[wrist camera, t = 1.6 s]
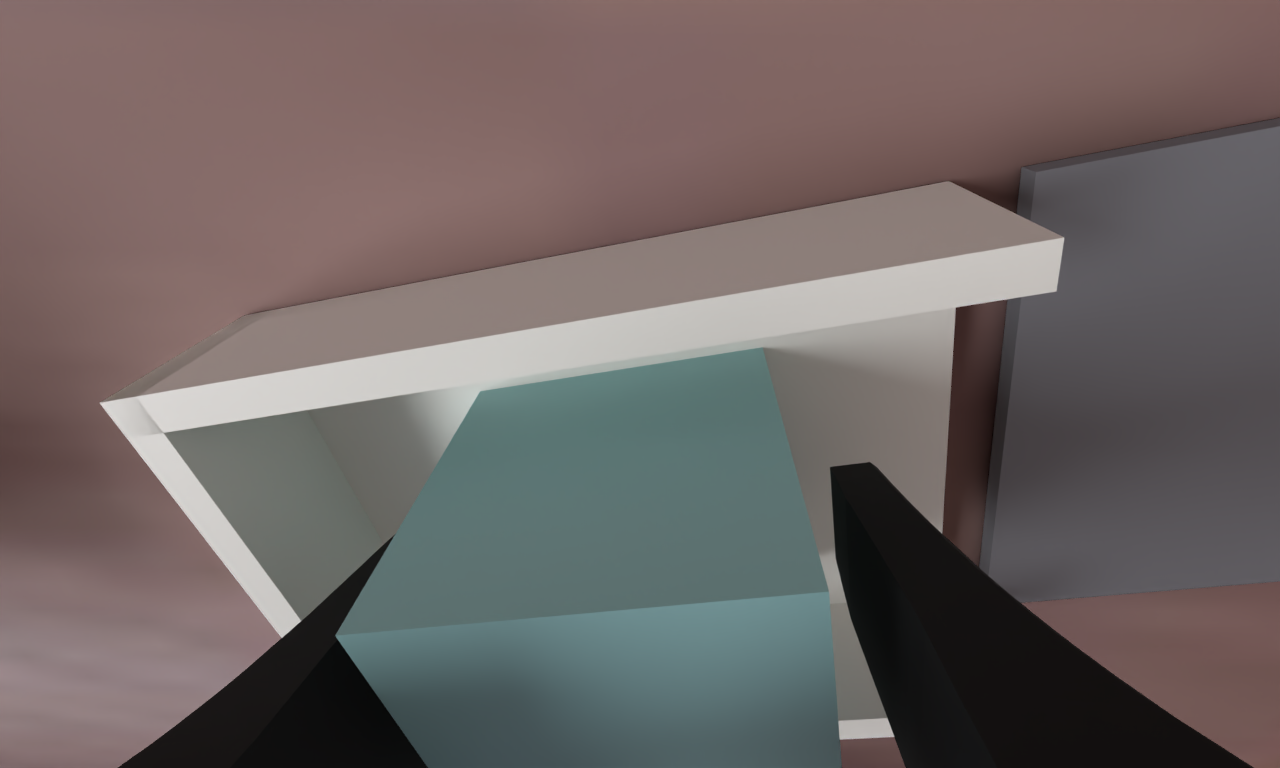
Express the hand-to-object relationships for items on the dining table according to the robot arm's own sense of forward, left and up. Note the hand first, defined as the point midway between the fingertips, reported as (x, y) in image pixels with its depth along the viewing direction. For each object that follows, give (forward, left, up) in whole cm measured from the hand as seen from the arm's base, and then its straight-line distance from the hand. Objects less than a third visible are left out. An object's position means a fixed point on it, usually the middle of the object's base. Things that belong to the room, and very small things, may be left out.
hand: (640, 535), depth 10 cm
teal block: (0, 0, -1) cm, 1 cm away
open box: (0, +1, -2) cm, 2 cm away
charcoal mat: (0, -10, -2) cm, 10 cm away
